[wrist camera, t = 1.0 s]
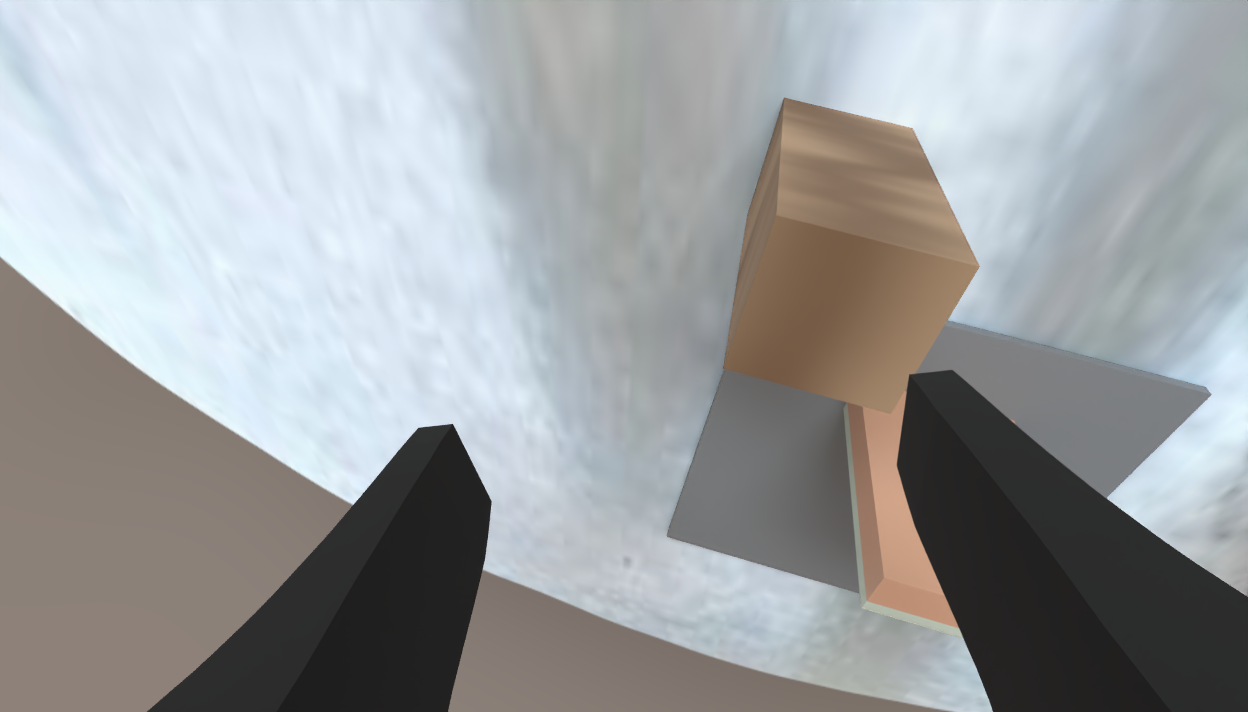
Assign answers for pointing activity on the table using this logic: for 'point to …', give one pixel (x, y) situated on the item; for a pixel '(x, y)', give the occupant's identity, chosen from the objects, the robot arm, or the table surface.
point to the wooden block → (845, 259)
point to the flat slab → (889, 526)
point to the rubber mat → (990, 362)
